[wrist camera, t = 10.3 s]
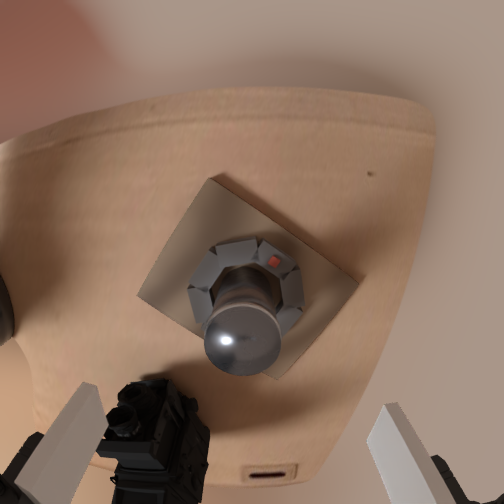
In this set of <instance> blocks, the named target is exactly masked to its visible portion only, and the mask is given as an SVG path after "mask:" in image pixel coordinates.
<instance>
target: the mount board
mask: <svg viewBox="0 0 504 504" xmlns="http://www.w3.org/2000/svg"><path fill="white" fill-rule="evenodd" d="M238 267H252V268H255V269H257V270H259V271H261V272H262V273H263V274H264V275H265V276H266V277H267V279H268V280H269V283H270V286H271V291H272V296H273V301H274V306H275V312H276V317H277V320H278V322H279V325H280V330H281V336H282V339H281V350H280V353H279V356H278V358H277V359H276V361H275V362H274V363H273V364H272V365H271V366H270V367H269V368H268V369H266V370H264V371H262V373H264V374H266V375H268V376H270V377H272V378H274V379H276V380H278V379H279V378H280V377H281V376H282V375H283V374H284V373H285V372H286V371H287V370H288V369H289V368H290V367H291V365H292V364H293V363H294V362H295V361H296V360H297V359H298V358H299V357H300V356H301V354H302V353H303V352H304V351H305V350H306V349H307V348H308V347H309V345H310V344H311V343H312V342H313V341H314V340H315V339H316V337H317V336H318V335H319V334H320V333H321V331H322V330H323V329H324V328H325V327H326V326H327V324H328V323H329V322H330V321H331V320H332V318H333V317H334V316H335V315H336V313H337V312H338V311H339V310H340V308H341V307H342V306H343V305H344V303H345V302H346V301H347V300H348V298H349V297H350V296H351V294H352V293H353V292H354V291H355V289H356V288H357V287H358V285H359V283H358V282H357V281H355V280H354V279H353V278H351V277H350V276H349V275H347V274H346V273H345V272H343V271H342V270H341V269H339V268H338V267H337V266H335V265H334V264H333V263H331V262H330V261H329V260H327V259H326V258H325V257H323V256H322V255H320V254H319V253H318V252H316V251H315V250H314V249H312V248H311V247H309V246H308V245H307V244H305V243H304V242H303V241H301V240H300V239H298V238H297V237H296V236H294V235H293V234H291V233H290V232H289V231H287V230H286V229H284V228H283V227H282V226H280V225H279V224H277V223H276V222H274V221H273V220H272V219H270V218H269V217H267V216H266V215H264V214H263V213H262V212H260V211H259V210H257V209H256V208H254V207H253V206H251V205H250V204H249V203H247V202H246V201H244V200H243V199H241V198H240V197H238V196H237V195H235V194H234V193H232V192H231V191H229V190H228V189H226V188H225V187H223V186H222V185H220V184H219V183H217V182H216V181H214V180H213V179H211V178H208V179H207V181H206V182H205V184H204V185H203V187H202V188H201V190H200V191H199V193H198V194H197V196H196V197H195V199H194V200H193V202H192V203H191V205H190V206H189V208H188V210H187V211H186V213H185V214H184V216H183V217H182V219H181V221H180V222H179V224H178V225H177V227H176V229H175V230H174V232H173V234H172V235H171V237H170V238H169V240H168V242H167V243H166V245H165V247H164V248H163V250H162V252H161V253H160V255H159V257H158V259H157V260H156V262H155V264H154V265H153V267H152V269H151V271H150V272H149V274H148V276H147V278H146V279H145V281H144V283H143V285H142V287H141V288H140V290H139V292H138V294H137V296H138V297H139V298H141V299H142V300H144V301H145V302H147V303H148V304H149V305H151V306H152V307H154V308H155V309H157V310H158V311H160V312H161V313H163V314H164V315H166V316H167V317H169V318H170V319H172V320H173V321H175V322H177V323H178V324H180V325H181V326H183V327H184V328H186V329H188V330H189V331H191V332H192V333H194V334H196V335H197V336H199V337H201V338H202V339H204V334H205V329H206V326H207V323H208V320H209V318H210V316H211V314H212V310H213V307H214V303H215V300H216V297H217V293H218V290H219V287H220V284H221V281H222V279H223V278H224V276H225V275H226V274H227V273H228V272H229V271H231V270H233V269H235V268H238Z"/></svg>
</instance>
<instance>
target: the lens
mask: <svg viewBox="0 0 504 504" xmlns="http://www.w3.org/2000/svg"><path fill="white" fill-rule="evenodd" d="M281 339H282V336H281V330H280V325H279V322H278V320H277V317H276V312H275V306H274V301H273V296H272V291H271V286H270V283H269V280H268V279H267V277H266V276H265V275H264V274H263V273H262V272H261V271H259V270H257V269H255V268H252V267H238V268H235V269H233V270H231V271H229V272H228V273H227V274H226V275H225V276H224V278H223V279H222V281H221V284H220V287H219V290H218V293H217V297H216V300H215V303H214V307H213V310H212V314H211V316H210V318H209V320H208V323H207V326H206V329H205V334H204V347H205V351H206V354H207V356H208V358H209V359H210V361H211V362H212V363H213V364H214V365H215V366H216V367H218V368H219V369H221V370H222V371H224V372H227V373H229V374H233V375H239V376H248V375H254V374H257V373H260V372H262V371H264V370H266V369H268V368H269V367H270V366H271V365H272V364H273V363H274V362H275V361H276V359H277V358H278V356H279V353H280V350H281Z"/></svg>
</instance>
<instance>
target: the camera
mask: <svg viewBox="0 0 504 504" xmlns="http://www.w3.org/2000/svg"><path fill="white" fill-rule="evenodd" d="M163 379H164V378H161V379H154V380H146V381H138V382H130V383H131V384H129V385H128V384H127V385H126V386H125V387H124V388H123V389H122V390H121V391H120V392H119V393H118V401H119V402H118V404H117V406H118V407H116V408H113V409H112V410H111V411H110V412H109V413H108V414H107V415H106V419H107V422H108V424H109V425H108V427H107V429H106V431H105V433H104V435H103V436H104V437H105V438H106V439H101V441H100V443H99V445H98V447H97V449H96V452H97V453H98V454H99V456H100V457H107V458H116V459H117V461H118V464H117V467H116V469H115V472H114V473H115V476H114V477H110V480H111V481H112V482H113V483H114V484H115V485H116V486H115V490H114V495H113V499H112V504H198V503H201V500H202V493H203V485H204V478H205V474H206V471H207V468H208V465H209V464H208V462H207V456H208V448H209V441H210V431H209V429H208V427H204V426H203V425H202V423H201V421H200V420H199V418H198V416H197V415H196V413H195V412H197V411H198V404H197V400H196V399H195V398H188V399H187V397H186V396H182V394H181V392H178V391H177V389H176V388H175V386H174V384H173V382H172V380H171V379H170V381H168V380H165V379H164V380H163ZM113 479H114V480H115V481H116V482H114V481H113Z"/></svg>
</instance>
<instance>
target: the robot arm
mask: <svg viewBox="0 0 504 504" xmlns="http://www.w3.org/2000/svg"><path fill="white" fill-rule="evenodd" d="M13 330H14V317H13V311H12V306H11V302H10V298H9V295H8V292H7V290H6V287H5V285H4V283H3V280H2V278H1V276H0V346H2V345H3V344H4V343H5V342H7V341H8V340H9V339H10V338H11V337H12V334H13ZM107 427H108V422H107V419H106V416H105V413H104V409H103V406H102V403H101V399H100V396H99V392H98V389H97V386H96V385H92V384H89V383H85V382H83V383H82V384H81V385H80V387H79V388H78V389H77V391H76V392H75V393H74V395H73V396H72V397H71V399H70V400H69V401H68V403H67V404H66V406H65V407H64V408H63V410H62V411H61V412H60V414H59V415H58V417H57V418H56V420H55V421H54V422H53V424H52V425H51V427H50V428H49V430H48V431H47V432H46V434H45V435H44V434H42V433H39V432H36V433H34V434H33V435H31V436H29V437H28V439H27V440H26V441H25V443H24V444H23V447H21V449H20V450H19V453H17V454H16V456H15V457H14V458H13V460H12V461H11V463H10V465H9V466H8V467H7V469H6V470H5V472H4V473H3V474H2V475H1V474H0V504H70V503H71V501H72V498H73V496H74V494H75V492H76V490H77V487H78V486H79V483H80V481H81V479H82V477H83V475H84V473H85V471H86V469H87V467H88V465H89V463H90V461H91V459H92V457H93V455H94V453H95V451H96V449H97V447H98V445H99V443H100V441H101V439H102V437H103V435H104V433H105V431H106V429H107ZM366 442H367V444H368V446H369V449H370V451H371V454H372V456H373V458H374V461H375V464H376V466H377V468H378V471H379V473H380V476H381V478H382V481H383V483H384V486H385V488H386V491H387V493H388V496H389V498H390V501H391V503H392V504H480V503H479V502H476V501H469V500H468V499H467V497H466V496H465V494H464V492H463V490H462V489H461V487H460V485H459V484H458V482H457V480H456V478H455V477H453V473H452V472H451V470H450V468H449V467H448V465H447V463H446V462H445V460H443V459H442V458H441V457H440V456H438V455H435V456H432V457H430V456H429V454H428V452H427V451H426V449H425V447H424V445H423V444H422V442H421V440H420V439H419V437H418V436H417V434H416V432H415V430H414V429H413V427H412V425H411V424H410V422H409V421H408V419H407V417H406V415H405V414H404V412H403V411H402V409H401V407H400V406H399V404H398V403H397V402H396V403H389V404H384V405H383V408H382V410H381V412H380V414H379V416H378V418H377V420H376V422H375V424H374V427H373V429H372V431H371V433H370V434H369V436H368V438H367V440H366ZM483 504H504V494H502V495H501V496H500V497H499V498H498V499H496V500H495V501H491V502H487V503H483Z"/></svg>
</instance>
